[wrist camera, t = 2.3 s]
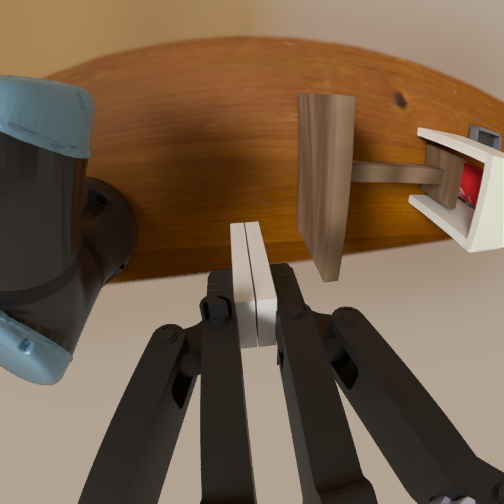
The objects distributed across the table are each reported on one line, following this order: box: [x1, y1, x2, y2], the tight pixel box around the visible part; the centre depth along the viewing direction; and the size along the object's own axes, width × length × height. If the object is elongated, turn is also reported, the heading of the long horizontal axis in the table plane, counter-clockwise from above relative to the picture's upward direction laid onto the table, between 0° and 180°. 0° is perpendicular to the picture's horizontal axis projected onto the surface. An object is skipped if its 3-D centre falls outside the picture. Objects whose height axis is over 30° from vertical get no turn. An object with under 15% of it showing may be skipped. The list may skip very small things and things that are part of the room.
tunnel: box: [408, 127, 504, 253], centre depth 27 cm, size 10×11×14 cm
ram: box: [297, 94, 465, 282], centre depth 27 cm, size 20×17×12 cm
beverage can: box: [458, 161, 484, 207], centre depth 28 cm, size 5×5×12 cm
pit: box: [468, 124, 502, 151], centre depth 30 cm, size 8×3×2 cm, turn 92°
